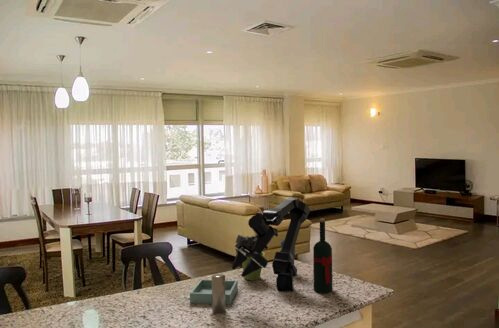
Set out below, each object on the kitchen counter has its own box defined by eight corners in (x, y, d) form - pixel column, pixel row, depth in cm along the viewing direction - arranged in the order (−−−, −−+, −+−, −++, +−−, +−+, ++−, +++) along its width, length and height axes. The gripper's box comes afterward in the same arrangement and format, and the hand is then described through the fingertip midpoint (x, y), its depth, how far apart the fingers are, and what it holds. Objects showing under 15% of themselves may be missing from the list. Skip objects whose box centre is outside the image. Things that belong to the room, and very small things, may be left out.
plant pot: (233, 278, 185) (233, 254, 185) (252, 272, 193) (252, 249, 193) (251, 284, 177) (251, 259, 176) (270, 278, 185) (270, 253, 184)
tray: (237, 289, 171) (237, 280, 170) (230, 304, 155) (229, 294, 155) (201, 288, 173) (200, 279, 173) (189, 302, 157) (189, 293, 157)
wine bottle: (319, 296, 161) (319, 222, 160) (310, 287, 171) (309, 217, 170) (338, 294, 163) (337, 221, 162) (328, 286, 173) (327, 216, 171)
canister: (227, 308, 152) (226, 274, 151) (224, 313, 147) (223, 278, 146) (214, 307, 152) (213, 273, 152) (210, 313, 147) (210, 278, 147)
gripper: (238, 222, 162) (213, 253, 158) (258, 232, 145) (231, 267, 141) (256, 238, 166) (233, 269, 162) (278, 250, 149) (253, 285, 145)
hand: (237, 272), depth 153 cm, fingers open, 9 cm apart
